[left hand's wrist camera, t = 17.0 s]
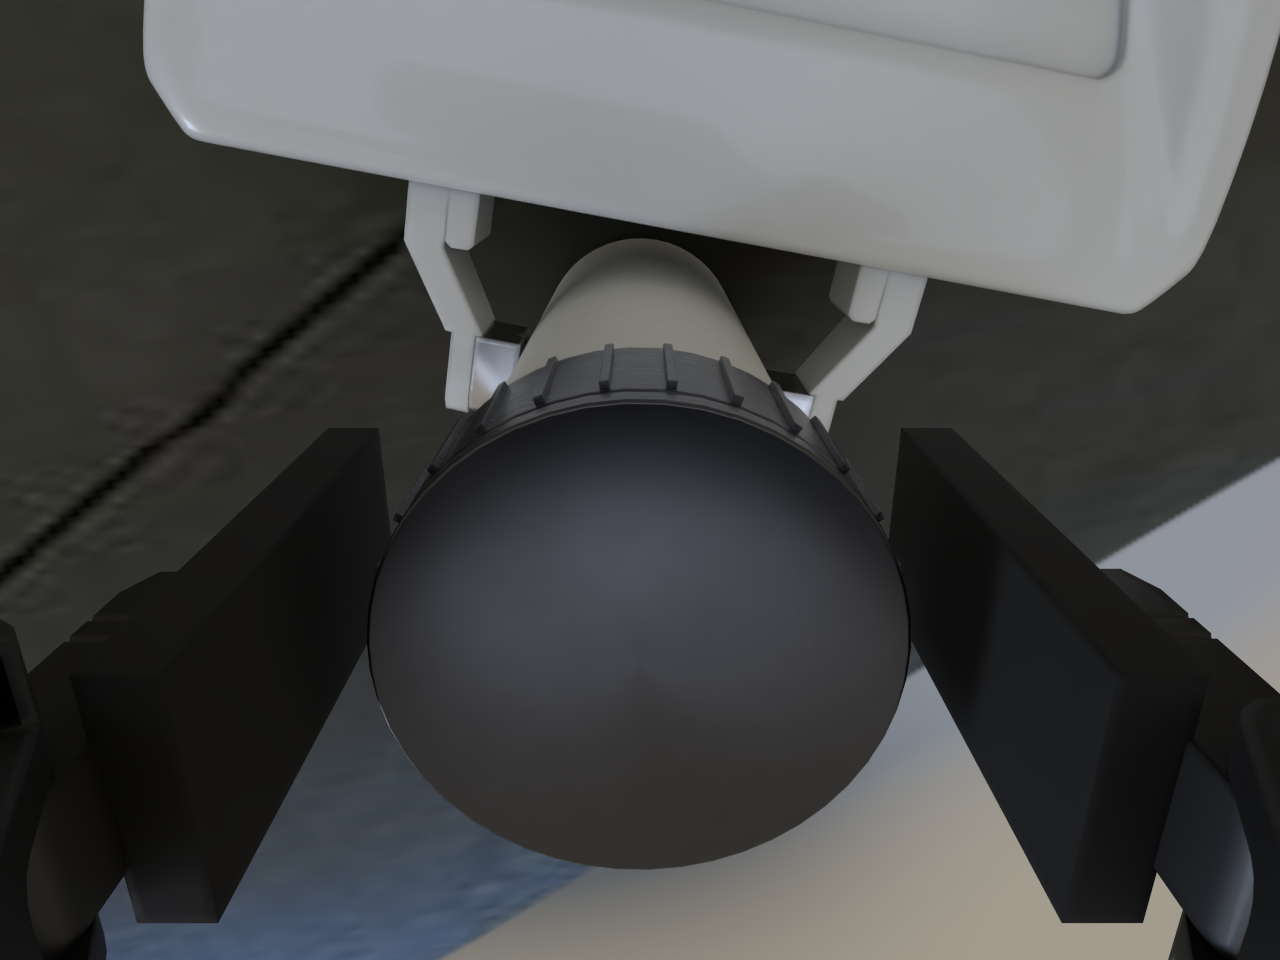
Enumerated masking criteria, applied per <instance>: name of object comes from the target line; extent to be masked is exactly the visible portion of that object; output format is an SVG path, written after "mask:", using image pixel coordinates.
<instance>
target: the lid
mask: <svg viewBox="0 0 1280 960" xmlns="http://www.w3.org/2000/svg"><path fill="white" fill-rule="evenodd" d="M883 519H884V517H883V515H882V513H881V511H880V510H879V508H878V506H877V505H876V503H875V502H874V500H873V498H872V497H871V495H870V494H869V492H868V491H867V489H866V487H865V486H864V484H863V483H862V481H861V480H860V478H859V476H858V475H857V473H856V472H855V470H854V468H853V467H852V465H851V464H850V462H849V461H848V459H847V458H845V459H844V458H843V456H842V454H841V453H840V451H839V450H838V448H837V446H836V445H835V443H834V442H833V440H832V438H831V437H830V435H829V434H828V432H827V430H826V429H825V427H824V426H823V424H822V422H821V421H820V420H819V418H818V417H817V416H814V417H813V418H811V419H810V418H809V417H808V416H807V415H806V414H805V413H804V412H803V411H802V410H801V409H800V408H799V407H798V406H796V405H795V404H794V403H793V402H792V401H790V400H789V399H788V398H787V397H786V396H785V394H784V392H783V391H782V389H781V387H780V385H779V384H778V383H776V382H775V381H772V382H771V383H770V385H768V384H767V383H765V382H763V381H762V380H760V379H758V378H757V377H755V376H753V375H752V374H750V373H747V372H745V371H743V370H741V369H738V368H736V367H734V366H732V365H731V363H730V360H729V358H727V357H724V356H721V357H720V359H719V360H715V359H712V358H708V357H705V356H701V355H698V354H694V353H690V352H683V351H676V350H673V346H672V344H666V343H664V344H663V348H632V347H627V348H618V349H614V344H613V343H612V344H605V346H604V350H600V351H594V352H589V353H585V354H581V355H577V356H573V357H569V358H565V359H562V360H560V361H558V359H557V357H556V356H554V357H551V358H549V359H548V361H547V363H546V366H544V367H542V368H539V369H537V370H535V371H533V372H531V373H529V374H527V375H525V376H524V377H522V378H520V379H518V380H516V381H515V382H513V383H511V384H509V385H507V384H506V382H505V381H503V382H502V383H500V384H499V385H498V386H497V388H496V390H495V392H494V393H493V395H492V397H491V398H490V399H489V400H488V401H486V402H485V403H484V404H483V405H482V406H481V407H480V408H479V409H478V410H477V411H476V412H475V413H474V414H473V415H472V416H471V417H469V418H468V419H467V420H466V419H465V418H464V417H463V416H462V417H461V418H460V419H459V420H458V421H457V422H456V424H455V425H454V427H453V429H452V430H451V432H450V433H449V435H448V437H447V438H446V440H445V441H444V443H443V444H442V446H441V448H440V449H439V451H438V452H437V454H436V456H435V457H434V459H431V460H430V461H429V463H428V464H427V466H426V467H425V469H424V471H423V472H422V474H421V475H420V477H419V478H418V480H417V481H416V483H415V485H414V486H413V488H412V489H411V491H410V492H409V494H408V496H407V497H406V499H405V500H404V502H403V503H402V505H401V506H400V508H399V510H398V511H397V513H396V515H395V517H394V519H393V520H394V521H396V522H398V523H399V524H398V526H397V527H396V529H395V531H394V533H393V535H392V537H391V538H390V540H389V542H388V544H387V546H386V547H385V550H384V553H383V556H382V558H381V560H380V561H379V563H378V564H377V566H376V571H375V574H376V575H375V577H374V582H373V587H372V592H371V597H370V602H369V607H368V622H367V647H368V657H369V666H370V672H371V676H372V680H373V684H374V688H375V692H376V695H377V699H378V702H379V705H380V707H381V709H382V712H383V714H384V717H385V719H386V721H387V724H388V726H389V728H390V730H391V732H392V734H393V735H394V737H395V739H396V740H397V742H398V744H399V745H400V747H401V749H402V750H403V752H404V754H405V755H406V757H407V758H408V759H409V760H410V762H411V763H412V764H413V766H414V767H415V768H416V769H417V771H418V772H419V773H420V774H421V776H422V777H423V778H424V779H425V780H426V781H427V782H428V783H429V784H430V785H431V786H432V787H433V788H434V789H435V790H436V791H437V792H438V793H439V794H440V795H441V796H442V797H443V798H444V799H445V800H446V801H447V802H449V803H450V804H451V805H453V806H454V807H455V808H457V809H458V810H459V811H460V812H462V813H463V814H464V815H466V816H467V817H468V818H470V819H471V820H473V821H474V822H476V823H478V824H479V825H481V826H483V827H484V828H486V829H488V830H489V831H491V832H493V833H494V834H496V835H498V836H500V837H502V838H504V839H506V840H509V841H511V842H513V843H515V844H517V845H519V846H522V847H524V848H526V849H529V850H532V851H535V852H538V853H541V854H544V855H547V856H550V857H553V858H556V859H560V860H565V861H569V862H574V863H578V864H583V865H588V866H597V867H605V868H614V869H649V870H651V869H662V868H674V867H683V866H689V865H694V864H699V863H705V862H710V861H714V860H718V859H721V858H724V857H728V856H731V855H734V854H737V853H741V852H744V851H747V850H749V849H751V848H754V847H756V846H758V845H761V844H763V843H765V842H768V841H770V840H773V839H774V838H776V837H778V836H780V835H782V834H783V833H785V832H787V831H789V830H791V829H792V828H794V827H796V826H798V825H800V824H801V823H802V822H804V821H805V820H807V819H808V818H809V817H811V816H812V815H814V814H815V813H816V812H818V811H819V810H820V809H822V808H823V807H825V806H826V805H827V804H828V803H829V802H830V801H831V800H832V799H834V798H835V797H836V796H837V795H838V794H839V793H840V792H841V791H842V790H844V789H845V788H846V787H847V786H848V785H849V784H850V782H851V781H852V780H853V779H854V778H855V776H856V775H857V774H858V773H859V772H860V771H861V770H862V768H863V767H864V766H865V765H866V764H867V763H868V761H869V759H870V758H871V756H872V755H873V753H874V752H875V750H876V749H877V747H878V746H879V744H880V743H881V741H882V739H883V738H884V736H885V734H886V732H887V730H888V728H889V725H890V723H891V721H892V719H893V717H894V715H895V713H896V711H897V708H898V705H899V701H900V698H901V695H902V692H903V688H904V685H905V682H906V677H907V671H908V664H909V657H910V651H911V616H910V610H909V603H908V597H907V591H906V586H905V582H904V579H903V576H902V573H903V571H902V566H901V564H900V562H899V560H898V559H897V557H896V555H895V553H894V551H893V549H892V547H891V545H890V543H889V541H888V539H887V537H886V535H885V533H884V531H883V529H882V527H881V525H880V523H879V521H881V520H883Z"/></svg>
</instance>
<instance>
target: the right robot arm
mask: <svg viewBox="0 0 1280 960" xmlns="http://www.w3.org/2000/svg"><path fill="white" fill-rule="evenodd" d="M1279 34H1280V0H144V21H143V55H144V62H145V69H146V72H147V75H148V78H149V80H150V82H151V83H152V85H153V87H154V88H155V90H156V91H157V93H158V94H159V96H160V97H161V99H162V100H163V102H164V104H165V105H166V107H167V108H168V110H169V111H170V113H171V114H172V116H173V117H174V119H175V120H176V122H177V123H178V124H179V126H180V127H181V128H182V130H183V131H184V132H185V133H186V134H187V135H188V136H190V137H191V138H193V139H195V140H199V141H203V142H208V143H213V144H218V145H223V146H228V147H234V148H239V149H244V150H250V151H255V152H260V153H266V154H271V155H276V156H282V157H287V158H292V159H298V160H303V161H308V162H314V163H319V164H324V165H330V166H335V167H340V168H346V169H351V170H356V171H362V172H367V173H372V174H378V175H383V176H388V177H394V178H399V179H404V180H409V185H408V197H407V209H406V222H405V234H404V241H405V243H406V245H407V248H408V250H409V252H410V254H411V256H412V258H413V261H414V263H415V265H416V267H417V269H418V272H419V274H420V276H421V278H422V280H423V282H424V285H425V287H426V289H427V291H428V293H429V295H430V298H431V300H432V302H433V304H434V306H435V308H436V311H437V313H438V315H439V317H440V319H441V321H442V324H443V326H444V328H445V330H446V331H451V332H452V333H451V343H450V353H449V362H448V372H447V382H446V392H445V403H446V408H450V409H454V410H459V411H463V412H474V413H475V412H476V411H477V410H478V409H479V408H480V407H481V406H482V405H483V404H484V403H485V402H486V401H488V400H489V399H490V398H491V397H492V395H493V393H494V392H495V390H496V388H497V386H498V385H499V384H500V383H502V382H503V381H505V382H506V383H507V381H508V379H509V377H510V375H511V374H512V372H513V370H514V368H515V366H516V364H517V362H518V360H519V358H520V357H521V355H522V353H523V351H524V349H525V347H526V345H527V343H528V341H529V333H530V328H528V327H523V326H518V325H513V324H508V323H503V322H498V321H494V320H495V317H494V315H493V312H492V309H491V307H490V304H489V302H488V299H487V297H486V294H485V292H484V289H483V287H482V284H481V282H480V279H479V277H478V274H477V272H476V269H475V267H474V264H473V261H472V259H471V256H470V254H469V251H468V250H469V249H471V248H472V247H474V246H475V245H476V244H478V243H479V242H481V241H482V240H484V239H485V238H486V237H488V236H489V235H490V232H491V224H492V216H493V208H494V200H495V197H501V198H506V199H511V200H517V201H522V202H527V203H533V204H538V205H543V206H549V207H554V208H559V209H565V210H570V211H575V212H581V213H586V214H591V215H597V216H602V217H607V218H613V219H618V220H623V221H629V222H634V223H639V224H645V225H650V226H655V227H661V228H666V229H671V230H677V231H682V232H687V233H693V234H698V235H704V236H709V237H714V238H720V239H725V240H730V241H736V242H741V243H746V244H752V245H757V246H762V247H768V248H773V249H778V250H784V251H789V252H794V253H800V254H805V255H810V256H816V257H821V258H826V259H832V260H837V264H836V268H835V272H834V276H833V281H832V285H831V289H830V293H829V299H830V301H831V302H832V303H833V304H834V305H835V306H836V307H837V308H838V309H839V310H841V311H842V312H843V313H844V314H845V315H846V316H845V317H844V318H843V319H842V320H841V321H840V322H839V323H838V325H837V326H836V327H835V328H834V329H833V330H832V331H831V332H830V333H829V335H828V336H827V337H826V338H825V339H824V340H823V341H822V342H821V344H820V345H819V346H818V347H817V348H816V349H815V350H814V351H813V352H812V354H811V355H810V356H809V357H808V358H807V359H806V360H805V361H804V363H803V364H802V365H801V366H800V367H799V368H798V369H797V370H796V372H795V374H789V373H783V372H776V371H770V370H766V372H767V374H768V376H769V377H770V379H771V381H775V382H776V383H778V384H779V385H780V387H781V389H782V391H783V392H784V394H785V396H786V397H787V398H788V399H789V400H790V401H792V402H793V403H794V404H795V405H796V406H798V407H799V408H800V409H801V410H802V411H803V412H804V413H805V414H806V415H807V416H808V417H809V418H810V419H811V418H813V417H814V416H817V417H818V418H819V420H820V421H821V422H822V424H823V426H824V427H825V429H826V430H827V432H829V428H830V425H831V421H832V417H833V414H834V410H835V406H836V403H837V400H842V401H843V400H844V399H845V398H846V397H847V396H848V395H849V394H850V393H851V392H852V391H853V390H854V389H855V388H856V387H857V386H858V385H859V384H860V383H861V382H862V381H863V380H864V379H866V378H867V377H868V376H869V375H870V374H871V373H872V372H873V371H874V370H875V369H876V368H877V367H878V366H879V365H880V364H881V363H882V362H883V361H884V360H885V359H886V358H887V357H888V356H889V355H890V354H891V353H892V352H893V351H894V350H895V349H896V348H897V347H898V346H899V345H900V344H901V343H902V342H903V341H904V340H905V339H906V338H907V337H908V336H909V335H910V334H911V332H912V329H913V325H914V322H915V319H916V315H917V312H918V309H919V305H920V302H921V299H922V295H923V292H924V289H925V285H926V282H927V279H928V278H933V279H938V280H944V281H949V282H955V283H960V284H965V285H971V286H976V287H981V288H987V289H992V290H997V291H1003V292H1008V293H1013V294H1019V295H1024V296H1029V297H1035V298H1040V299H1045V300H1051V301H1056V302H1061V303H1067V304H1072V305H1077V306H1083V307H1088V308H1094V309H1099V310H1104V311H1110V312H1115V313H1121V314H1131V313H1135V312H1137V311H1139V310H1141V309H1142V308H1144V307H1145V306H1147V305H1148V304H1150V303H1151V302H1153V301H1154V300H1156V299H1157V298H1158V297H1159V296H1161V295H1162V294H1163V293H1165V292H1166V291H1167V290H1168V289H1170V288H1171V287H1172V286H1173V285H1175V284H1176V283H1177V282H1178V281H1180V280H1181V279H1182V278H1183V277H1185V276H1186V275H1187V274H1188V273H1189V272H1190V271H1191V270H1192V268H1193V267H1194V266H1195V265H1196V263H1197V261H1198V259H1199V258H1200V256H1201V254H1202V252H1203V251H1204V249H1205V247H1206V244H1207V242H1208V240H1209V238H1210V235H1211V233H1212V231H1213V228H1214V226H1215V224H1216V222H1217V219H1218V217H1219V214H1220V212H1221V209H1222V206H1223V204H1224V201H1225V199H1226V196H1227V193H1228V191H1229V188H1230V186H1231V183H1232V180H1233V178H1234V175H1235V172H1236V169H1237V167H1238V164H1239V161H1240V158H1241V155H1242V152H1243V150H1244V147H1245V144H1246V141H1247V138H1248V135H1249V133H1250V130H1251V126H1252V123H1253V120H1254V117H1255V114H1256V111H1257V108H1258V105H1259V102H1260V99H1261V96H1262V93H1263V90H1264V87H1265V83H1266V80H1267V76H1268V73H1269V70H1270V66H1271V63H1272V59H1273V56H1274V52H1275V49H1276V45H1277V42H1278V38H1279Z"/></svg>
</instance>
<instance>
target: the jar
mask: <svg viewBox="0 0 1280 960" xmlns="http://www.w3.org/2000/svg"><path fill="white" fill-rule="evenodd" d="M612 343H613V344H614V349H618V348H627V347H632V348H663V344H664V343H666V344H672V346H673V350H676V351H683V352H690V353H694V354H698V355H701V356H705V357H708V358H712V359H715V360H719V359H720V357H721V356H724V357H727V358H729V360H730V363H731V365H732V366H734V367H736V368H738V369H741V370H743V371H745V372H747V373H750V374H752V375H753V376H755V377H757V378H758V379H760V380H762V381H763V382H765V383H767V384H768V385H770V383H771V382H772V381H771V379H770V377H769V376H768V374H767V372H766V370H765V368H764V366H763V364H762V362H761V360H760V358H759V357H758V355H757V353H756V351H755V349H754V347H753V345H752V343H751V341H750V339H749V338H748V336H747V334H746V332H745V330H744V328H743V326H742V324H741V322H740V320H739V319H738V317H737V315H736V313H735V311H734V309H733V307H732V305H731V303H730V301H729V300H728V298H727V296H726V294H725V292H724V290H723V288H722V287H721V285H720V283H719V281H718V280H717V278H716V277H715V276H714V275H713V273H712V272H711V271H710V269H709V268H708V267H707V266H705V265H704V264H703V263H702V262H701V261H700V260H699V259H698V258H696V257H695V256H694V255H692V254H691V253H689V252H687V251H686V250H684V249H682V248H680V247H678V246H675V245H673V244H670V243H667V242H663V241H659V240H654V239H644V238H638V239H626V240H620V241H616V242H613V243H609V244H606V245H604V246H602V247H600V248H597V249H595V250H593V251H592V252H590V253H589V254H587V255H586V256H584V257H583V258H582V259H580V260H579V261H578V262H577V263H576V264H575V265H574V266H573V267H572V268H571V269H570V270H569V271H568V272H567V273H566V275H565V276H564V278H563V279H562V281H561V282H560V284H559V285H558V287H557V289H556V291H555V293H554V295H553V296H552V298H551V300H550V302H549V304H548V306H547V308H546V310H545V311H544V313H543V315H542V317H541V319H540V321H539V323H538V325H537V327H536V328H535V330H534V332H533V334H532V336H531V338H530V340H529V342H528V343H527V345H526V347H525V349H524V351H523V353H522V355H521V357H520V358H519V360H518V362H517V364H516V366H515V368H514V370H513V372H512V374H511V375H510V377H509V379H508V381H507V383H506V384H507V385H509V384H511V383H513V382H515V381H516V380H518V379H520V378H522V377H524V376H525V375H527V374H529V373H531V372H533V371H535V370H537V369H539V368H542V367H544V366H546V363H547V361H548V359H549V358H551V357H554V356H556V357H557V359H558V361H560V360H562V359H565V358H569V357H573V356H577V355H581V354H585V353H589V352H594V351H600V350H604V346H605V344H612Z"/></svg>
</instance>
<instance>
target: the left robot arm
mask: <svg viewBox="0 0 1280 960" xmlns="http://www.w3.org/2000/svg"><path fill="white" fill-rule="evenodd" d="M390 538H391V533H390V525H389V516H388V507H387V498H386V489H385V480H384V471H383V462H382V453H381V444H380V436H379V428H328V429H327V430H326V431H325V432H324V433H323V434H322V435H321V436H320V437H319V438H318V439H317V440H315V441H314V442H313V443H312V444H311V445H310V446H309V447H308V448H307V449H306V450H305V451H304V452H303V453H302V454H301V455H300V456H299V457H298V458H297V459H295V460H294V461H293V462H292V463H291V464H290V465H289V466H288V467H287V468H286V469H285V470H284V471H283V472H282V473H281V474H280V475H279V476H278V477H277V478H276V479H274V480H273V481H272V482H271V483H270V484H269V485H268V486H267V487H266V488H265V489H264V490H263V491H262V492H261V493H260V494H259V495H258V496H257V497H256V498H255V499H253V500H252V501H251V502H250V503H249V504H248V505H247V506H246V507H245V508H244V509H243V510H242V511H241V512H240V513H239V514H238V515H237V516H236V517H235V518H233V519H232V520H231V521H230V522H229V523H228V524H227V525H226V526H225V527H224V528H223V529H222V530H221V531H220V532H219V533H218V534H217V535H216V536H215V537H214V538H212V539H211V540H210V541H209V542H208V543H207V544H206V545H205V546H204V547H203V548H202V549H201V550H200V551H199V552H198V553H197V554H196V555H195V556H194V557H193V558H191V559H190V560H189V561H188V562H187V563H186V564H185V565H184V566H183V567H182V568H181V569H180V570H179V571H178V572H159V573H157V574H155V575H153V576H151V577H149V578H147V579H145V580H143V581H141V582H139V583H138V584H136V585H134V586H132V587H130V588H128V589H126V590H124V591H122V592H120V593H119V594H118V595H117V596H115V597H114V598H113V599H112V600H111V601H110V602H109V603H107V604H106V605H105V606H104V607H103V608H102V609H101V610H100V611H98V612H97V613H96V614H95V615H94V616H93V620H92V621H87V622H86V623H85V624H84V625H83V626H82V627H80V628H79V629H78V630H77V631H76V632H75V633H74V634H72V635H71V636H70V641H69V642H63V643H62V644H61V645H60V646H59V647H58V648H57V649H56V650H54V651H53V652H52V653H51V654H50V655H49V656H48V657H47V658H45V659H44V660H43V661H42V662H41V663H40V664H39V665H38V666H36V667H35V668H34V669H33V670H32V671H31V672H30V673H28V674H27V670H26V667H25V663H24V660H23V657H22V653H21V650H20V647H19V643H18V640H17V636H16V633H15V630H14V627H13V626H11V625H9V624H8V623H6V622H4V621H3V620H1V619H0V960H106V954H107V950H106V943H105V937H104V932H103V928H102V925H101V922H100V918H99V915H98V912H99V911H100V910H101V908H102V907H103V905H104V904H105V902H106V901H107V899H108V898H109V897H110V895H111V894H112V892H113V891H114V889H115V888H116V886H117V885H118V884H119V882H120V881H121V879H122V878H123V876H124V877H125V881H126V884H127V888H128V892H129V895H130V899H131V902H132V906H133V910H134V913H135V917H136V921H137V923H218V922H219V920H220V918H221V917H222V915H223V913H224V911H225V909H226V907H227V905H228V903H229V902H230V900H231V898H232V896H233V894H234V892H235V890H236V888H237V887H238V885H239V883H240V881H241V879H242V877H243V875H244V873H245V872H246V870H247V868H248V866H249V864H250V862H251V860H252V858H253V857H254V855H255V853H256V851H257V849H258V847H259V845H260V843H261V842H262V840H263V838H264V836H265V834H266V832H267V830H268V828H269V827H270V825H271V823H272V821H273V819H274V817H275V815H276V813H277V812H278V810H279V808H280V806H281V804H282V802H283V800H284V798H285V797H286V795H287V793H288V791H289V789H290V787H291V785H292V783H293V782H294V780H295V778H296V776H297V774H298V772H299V770H300V768H301V767H302V765H303V763H304V761H305V759H306V757H307V755H308V753H309V752H310V750H311V748H312V746H313V744H314V742H315V740H316V738H317V737H318V735H319V733H320V731H321V729H322V727H323V725H324V723H325V721H326V720H327V718H328V716H329V714H330V712H331V710H332V708H333V706H334V705H335V703H336V701H337V699H338V697H339V695H340V693H341V691H342V690H343V688H344V686H345V684H346V682H347V680H348V678H349V676H350V675H351V673H352V671H353V669H354V667H355V665H356V663H357V661H358V660H359V658H360V656H361V654H362V652H363V650H364V648H365V646H366V645H367V622H368V607H369V602H370V597H371V592H372V587H373V582H374V577H375V575H376V574H375V571H376V566H377V564H378V563H379V561H380V560H381V558H382V556H383V553H384V550H385V547H386V546H387V544H388V542H389V540H390ZM889 543H890V545H891V547H892V549H893V551H894V553H895V555H896V557H897V559H898V560H899V562H900V564H901V566H902V571H903V573H902V576H903V579H904V582H905V586H906V591H907V597H908V603H909V610H910V616H911V641H912V643H913V645H914V646H915V648H916V650H917V652H918V654H919V656H920V658H921V660H922V661H923V663H924V665H925V667H926V669H927V671H928V673H929V675H930V676H931V678H932V680H933V682H934V684H935V686H936V688H937V690H938V691H939V693H940V695H941V697H942V699H943V701H944V703H945V705H946V706H947V708H948V710H949V712H950V714H951V716H952V718H953V720H954V722H955V723H956V725H957V727H958V729H959V731H960V733H961V735H962V736H963V738H964V740H965V742H966V744H967V746H968V748H969V750H970V751H971V753H972V755H973V757H974V759H975V761H976V763H977V765H978V766H979V768H980V770H981V772H982V774H983V776H984V778H985V780H986V781H987V783H988V785H989V787H990V789H991V791H992V793H993V795H994V797H995V798H996V800H997V802H998V804H999V806H1000V808H1001V810H1002V812H1003V813H1004V815H1005V817H1006V819H1007V821H1008V823H1009V825H1010V827H1011V828H1012V830H1013V832H1014V834H1015V836H1016V838H1017V840H1018V841H1019V843H1020V845H1021V847H1022V849H1023V851H1024V853H1025V855H1026V856H1027V858H1028V860H1029V862H1030V864H1031V866H1032V868H1033V870H1034V872H1035V873H1036V875H1037V877H1038V879H1039V881H1040V883H1041V885H1042V887H1043V888H1044V890H1045V892H1046V894H1047V896H1048V898H1049V900H1050V902H1051V903H1052V905H1053V907H1054V909H1055V911H1056V913H1057V915H1058V917H1059V918H1060V920H1061V922H1062V923H1143V921H1144V917H1145V913H1146V910H1147V906H1148V902H1149V899H1150V895H1151V892H1152V888H1153V884H1154V881H1155V877H1156V873H1158V874H1159V876H1160V877H1161V879H1162V880H1163V882H1164V883H1165V884H1166V886H1167V887H1168V889H1169V890H1170V892H1171V893H1172V894H1173V896H1174V897H1175V899H1176V900H1177V902H1178V903H1179V905H1180V906H1181V907H1182V909H1183V912H1182V915H1181V918H1180V922H1179V925H1178V928H1177V932H1176V935H1175V939H1174V942H1173V945H1172V949H1171V952H1170V955H1169V959H1168V960H1280V694H1279V693H1278V692H1277V691H1276V690H1275V689H1274V688H1273V687H1271V686H1270V685H1269V684H1268V683H1267V682H1266V681H1265V680H1263V679H1262V678H1261V677H1260V676H1259V675H1258V674H1257V673H1256V672H1254V671H1253V670H1252V669H1251V668H1250V667H1249V666H1248V665H1246V664H1245V663H1244V662H1243V661H1242V660H1241V659H1240V658H1238V657H1237V656H1236V655H1235V654H1234V653H1233V652H1232V651H1230V650H1229V649H1228V648H1227V647H1226V646H1225V645H1224V644H1223V643H1221V642H1220V641H1219V640H1218V639H1212V638H1211V633H1210V632H1209V631H1208V630H1207V629H1205V628H1204V627H1203V626H1202V625H1201V624H1200V623H1199V622H1197V621H1196V620H1195V619H1194V618H1188V613H1187V612H1186V611H1185V610H1184V609H1183V608H1182V607H1180V606H1179V605H1178V604H1177V603H1176V602H1175V601H1173V600H1172V599H1171V598H1170V597H1169V596H1168V595H1167V594H1166V593H1164V592H1163V591H1162V590H1161V589H1159V588H1157V587H1155V586H1153V585H1151V584H1149V583H1147V582H1145V581H1143V580H1141V579H1139V578H1137V577H1136V576H1133V575H1132V574H1130V573H1128V572H1126V571H1124V570H1122V569H1099V568H1098V567H1097V566H1096V565H1095V564H1094V563H1093V562H1092V561H1091V560H1090V559H1089V558H1087V557H1086V556H1085V555H1084V554H1083V553H1082V552H1081V551H1080V550H1079V549H1078V548H1077V547H1076V546H1075V545H1074V544H1073V543H1072V542H1071V541H1070V540H1069V539H1068V538H1066V537H1065V536H1064V535H1063V534H1062V533H1061V532H1060V531H1059V530H1058V529H1057V528H1056V527H1055V526H1054V525H1053V524H1052V523H1051V522H1050V521H1049V520H1048V519H1047V518H1045V517H1044V516H1043V515H1042V514H1041V513H1040V512H1039V511H1038V510H1037V509H1036V508H1035V507H1034V506H1033V505H1032V504H1031V503H1030V502H1029V501H1028V500H1027V499H1025V498H1024V497H1023V496H1022V495H1021V494H1020V493H1019V492H1018V491H1017V490H1016V489H1015V488H1014V487H1013V486H1012V485H1011V484H1010V483H1009V482H1008V481H1007V480H1006V479H1004V478H1003V477H1002V476H1001V475H1000V474H999V473H998V472H997V471H996V470H995V469H994V468H993V467H992V466H991V465H990V464H989V463H988V462H987V461H986V460H984V459H983V458H982V457H981V456H980V455H979V454H978V453H977V452H976V451H975V450H974V449H973V448H972V447H971V446H970V445H969V444H968V443H967V442H966V441H965V440H963V439H962V438H961V437H960V436H959V435H958V434H957V433H956V432H955V431H954V430H953V429H952V428H901V436H900V444H899V453H898V462H897V471H896V480H895V489H894V498H893V507H892V516H891V524H890V533H889Z"/></svg>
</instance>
